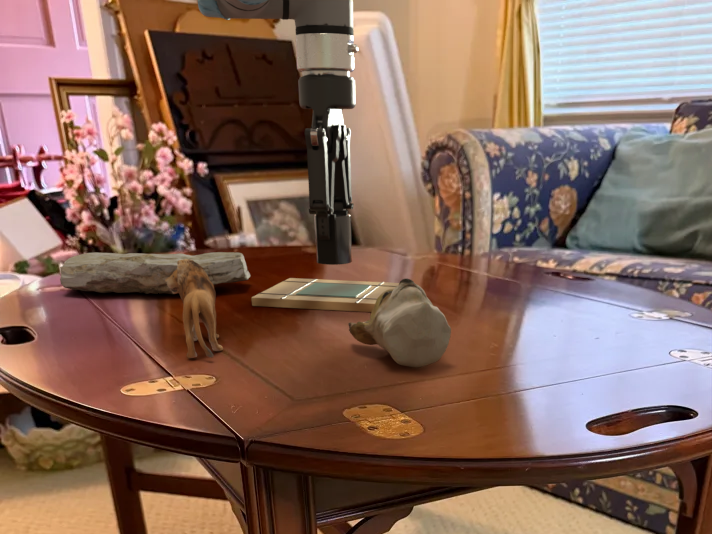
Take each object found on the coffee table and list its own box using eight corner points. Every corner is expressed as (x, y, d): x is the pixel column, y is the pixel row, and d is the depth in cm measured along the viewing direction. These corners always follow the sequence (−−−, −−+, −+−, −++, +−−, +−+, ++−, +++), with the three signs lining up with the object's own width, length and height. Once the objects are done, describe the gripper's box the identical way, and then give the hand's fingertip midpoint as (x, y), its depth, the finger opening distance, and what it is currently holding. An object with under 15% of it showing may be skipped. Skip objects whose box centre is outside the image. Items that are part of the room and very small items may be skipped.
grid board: (251, 305, 109) (251, 296, 109) (289, 285, 123) (289, 277, 122) (387, 313, 106) (387, 303, 105) (410, 291, 119) (411, 282, 119)
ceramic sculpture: (375, 288, 74) (341, 272, 87) (376, 376, 78) (344, 348, 91) (476, 284, 77) (429, 269, 90) (473, 369, 81) (428, 343, 94)
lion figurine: (171, 334, 94) (160, 257, 90) (214, 330, 96) (206, 255, 92) (189, 364, 83) (178, 278, 78) (238, 359, 84) (229, 275, 80)
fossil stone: (256, 282, 126) (253, 247, 123) (238, 300, 113) (235, 262, 110) (87, 280, 126) (80, 246, 123) (50, 298, 113) (42, 260, 110)
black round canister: (311, 264, 110) (309, 216, 107) (322, 258, 114) (320, 212, 111) (346, 265, 109) (344, 217, 106) (356, 259, 113) (354, 213, 110)
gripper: (333, 70, 92) (340, 271, 103) (371, 78, 108) (374, 252, 119) (274, 71, 93) (288, 269, 104) (320, 78, 109) (328, 250, 120)
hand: (334, 259), depth 112 cm, fingers closed on black round canister, 5 cm apart
